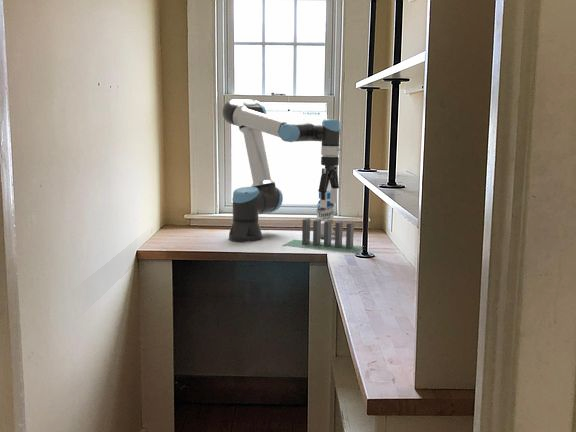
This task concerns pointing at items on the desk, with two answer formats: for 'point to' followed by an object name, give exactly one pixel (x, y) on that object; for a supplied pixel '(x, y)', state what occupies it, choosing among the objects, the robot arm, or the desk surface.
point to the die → (323, 229)
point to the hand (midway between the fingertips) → (328, 205)
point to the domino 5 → (349, 235)
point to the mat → (321, 246)
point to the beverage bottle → (325, 210)
